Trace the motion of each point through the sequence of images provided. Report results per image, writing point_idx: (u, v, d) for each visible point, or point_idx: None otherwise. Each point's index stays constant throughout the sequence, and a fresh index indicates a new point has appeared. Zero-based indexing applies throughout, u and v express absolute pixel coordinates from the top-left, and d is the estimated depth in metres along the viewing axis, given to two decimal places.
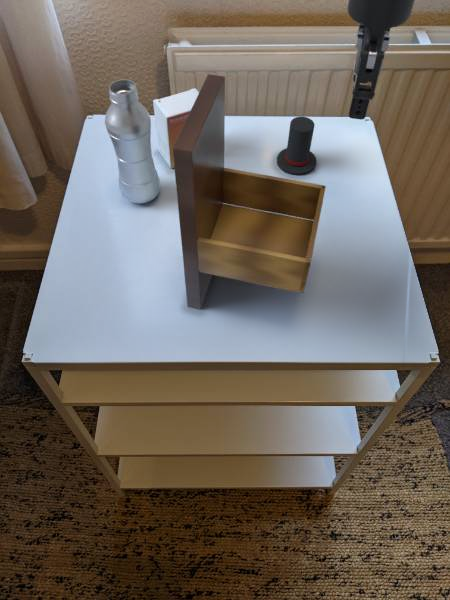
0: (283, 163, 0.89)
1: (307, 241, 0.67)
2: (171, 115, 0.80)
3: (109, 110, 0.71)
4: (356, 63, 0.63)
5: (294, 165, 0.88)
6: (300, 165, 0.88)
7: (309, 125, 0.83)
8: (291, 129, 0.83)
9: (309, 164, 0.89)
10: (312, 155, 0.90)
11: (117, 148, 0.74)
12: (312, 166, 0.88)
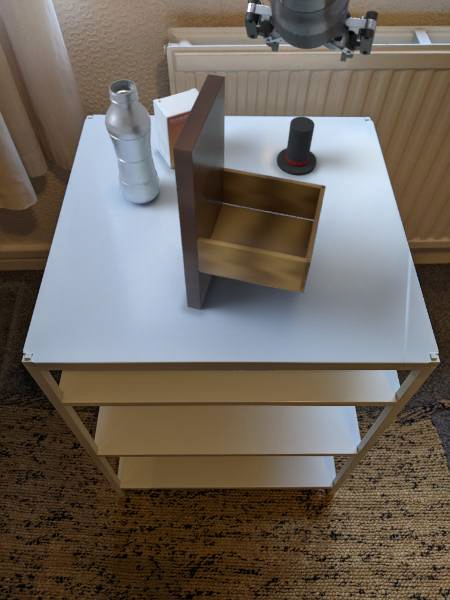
0: (283, 163, 0.89)
1: (307, 241, 0.67)
2: (171, 115, 0.80)
3: (109, 110, 0.71)
4: (338, 45, 0.55)
5: (294, 165, 0.88)
6: (300, 165, 0.88)
7: (309, 125, 0.83)
8: (291, 129, 0.83)
9: (309, 164, 0.89)
10: (312, 155, 0.90)
11: (117, 148, 0.74)
12: (312, 166, 0.88)
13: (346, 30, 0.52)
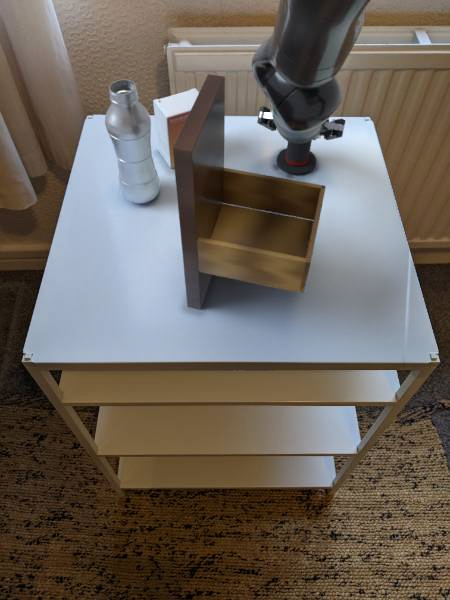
0: (283, 163, 0.89)
1: (307, 241, 0.67)
2: (171, 115, 0.80)
3: (109, 110, 0.71)
4: None
5: (294, 165, 0.88)
6: (300, 165, 0.88)
7: None
8: None
9: (309, 164, 0.89)
10: (312, 155, 0.90)
11: (117, 148, 0.74)
12: (312, 166, 0.88)
13: (325, 129, 0.76)
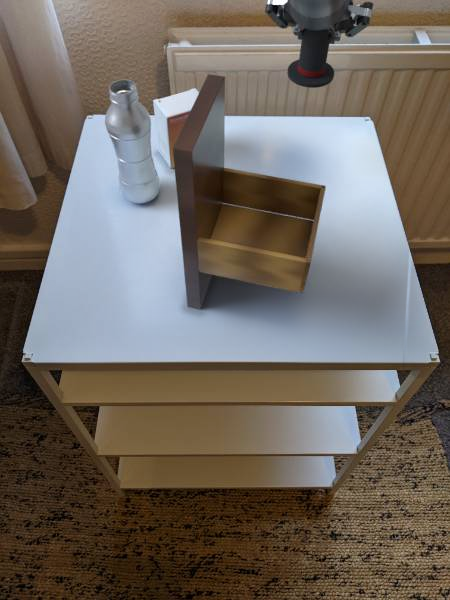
0: (295, 74, 0.75)
1: (307, 241, 0.67)
2: (171, 115, 0.80)
3: (109, 110, 0.71)
4: (335, 29, 0.66)
5: (308, 76, 0.74)
6: (315, 76, 0.74)
7: None
8: None
9: (326, 76, 0.75)
10: (329, 66, 0.76)
11: (117, 148, 0.74)
12: (329, 77, 0.74)
13: (349, 14, 0.62)
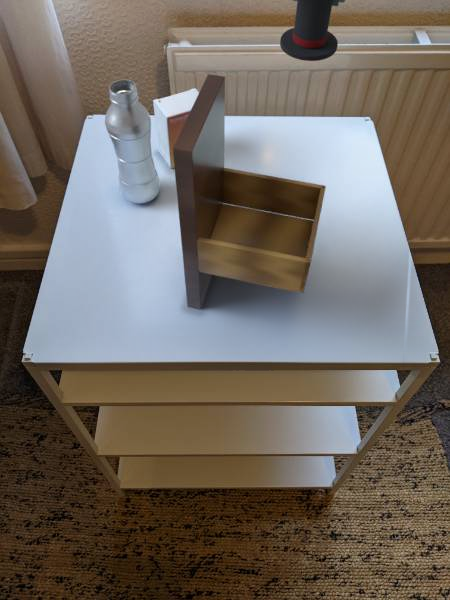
0: (289, 45, 0.61)
1: (307, 241, 0.67)
2: (171, 115, 0.80)
3: (109, 110, 0.71)
4: None
5: (305, 46, 0.60)
6: (314, 46, 0.60)
7: None
8: None
9: (328, 47, 0.61)
10: (331, 36, 0.62)
11: (117, 148, 0.74)
12: (332, 49, 0.60)
13: None
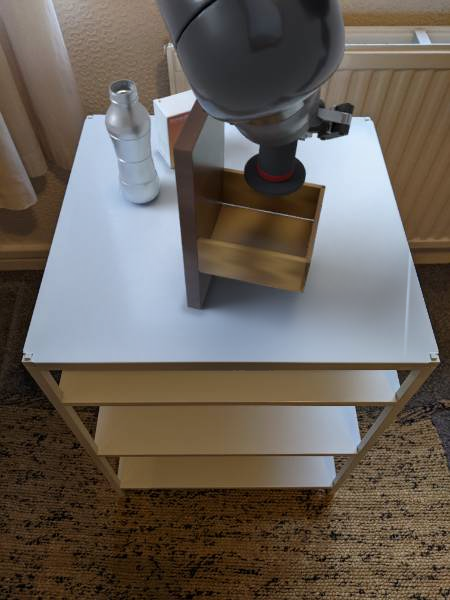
0: (253, 177, 0.56)
1: (307, 241, 0.67)
2: (171, 115, 0.80)
3: (109, 110, 0.71)
4: (302, 134, 0.47)
5: (270, 180, 0.55)
6: (280, 180, 0.55)
7: None
8: None
9: (295, 179, 0.56)
10: (300, 164, 0.57)
11: (117, 148, 0.74)
12: (299, 182, 0.56)
13: (319, 122, 0.43)
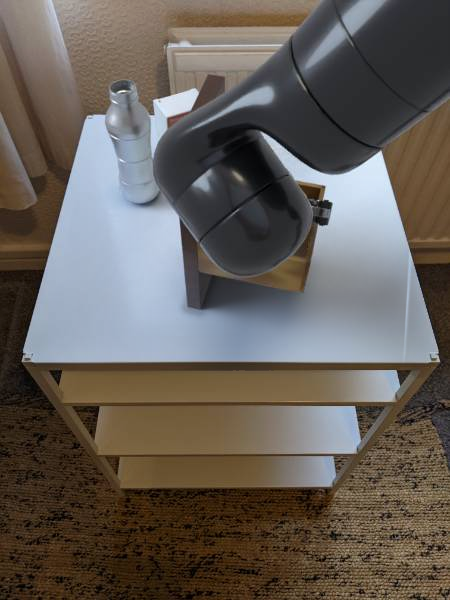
0: None
1: (307, 241, 0.67)
2: (171, 115, 0.80)
3: (109, 110, 0.71)
4: None
5: None
6: None
7: None
8: None
9: None
10: None
11: (117, 148, 0.74)
12: None
13: None
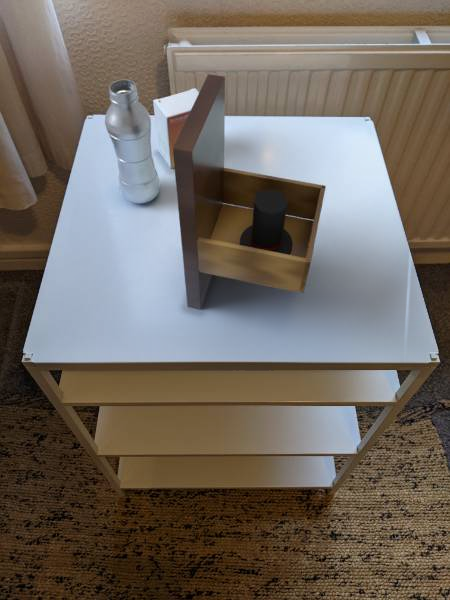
0: None
1: (307, 241, 0.67)
2: (171, 115, 0.80)
3: (109, 110, 0.71)
4: None
5: None
6: None
7: (280, 203, 0.60)
8: (255, 208, 0.60)
9: (283, 250, 0.66)
10: (287, 235, 0.67)
11: (117, 148, 0.74)
12: (286, 252, 0.65)
13: None
